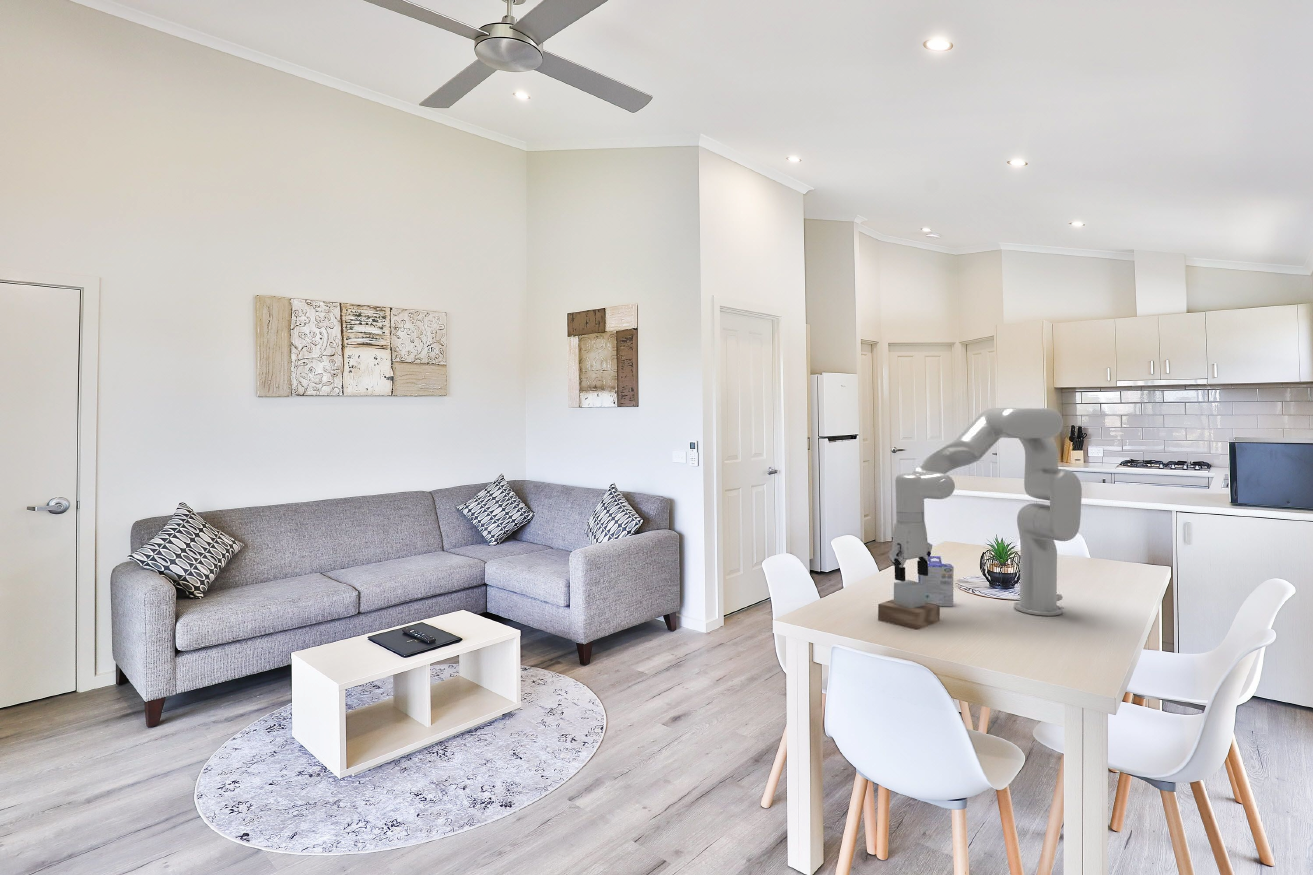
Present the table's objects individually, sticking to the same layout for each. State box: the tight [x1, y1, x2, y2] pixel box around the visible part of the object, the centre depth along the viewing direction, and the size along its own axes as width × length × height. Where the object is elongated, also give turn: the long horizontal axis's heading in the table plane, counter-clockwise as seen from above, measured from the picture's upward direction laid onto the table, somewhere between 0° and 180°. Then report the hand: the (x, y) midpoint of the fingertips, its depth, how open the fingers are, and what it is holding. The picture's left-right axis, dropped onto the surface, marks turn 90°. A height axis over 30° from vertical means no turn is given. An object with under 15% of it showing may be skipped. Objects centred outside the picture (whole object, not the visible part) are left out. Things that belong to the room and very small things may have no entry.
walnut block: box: [877, 598, 941, 631], centre depth 199 cm, size 12×12×5 cm
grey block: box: [893, 579, 926, 608], centre depth 199 cm, size 6×6×6 cm
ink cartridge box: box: [917, 555, 955, 607], centre depth 215 cm, size 10×6×14 cm, turn 79°
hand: (911, 577), depth 198 cm, fingers open, 9 cm apart
